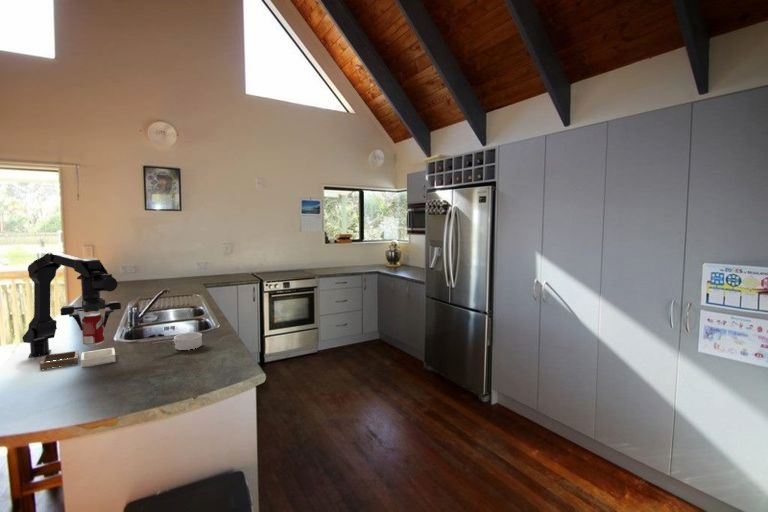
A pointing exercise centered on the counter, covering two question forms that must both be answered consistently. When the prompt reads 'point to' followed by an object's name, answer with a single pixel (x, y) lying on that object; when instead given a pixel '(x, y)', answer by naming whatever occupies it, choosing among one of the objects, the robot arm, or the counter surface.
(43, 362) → the walnut holder
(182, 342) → the saucepan
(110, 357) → the rimmed tray
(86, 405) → the counter surface
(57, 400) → the counter surface
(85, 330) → the soda can
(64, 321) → the counter surface
